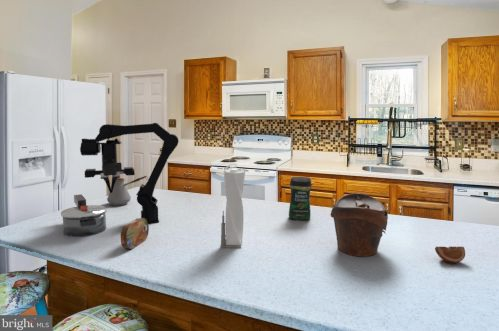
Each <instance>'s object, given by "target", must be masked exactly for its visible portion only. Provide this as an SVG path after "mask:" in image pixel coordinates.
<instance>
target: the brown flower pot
mask: <svg viewBox="0 0 499 331" xmlns="http://www.w3.org/2000/svg"><path fill="white" fill-rule="evenodd" d="M330 217H331V218H332V219H333V222H334V228H335V230H334V231H335V237H336V242H337V243H336V245H337V248H338V250H340V251H341V252H342V253H344V254H347V255H349V256H353V257H371V256H374V255H376V254H377V252H378V250H379V246H380V242H381V239H382V237H383V233H384V234H386V231H387V226H388V219H389V215H388V211H387V208H386V207H385V206H384V204H383V203H382V202H381V201H379V200H378V199H376V198H374V197H373V196H370V195H368V194H364V193H359V192H355V193H353V192H352V193H347V194H345V195H343V196H342V197H340V198H338V199H337V200H336V202H334V205H333V206H332V209H331V211H330Z"/></svg>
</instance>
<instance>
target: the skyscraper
mask: <svg viewBox="0 0 499 331" xmlns="http://www.w3.org/2000/svg"><path fill="white" fill-rule="evenodd" d="M231 166H234V168H230V169H229V170H228V171H226V170H227V169H228V168H229V167H231ZM237 166H238V164H237V163H230V164H228V165H227V166H226V167H225V169H224V170H223V177H224V178H223V180H224V190H225V198H226V201H225V202H226V203H225V211H224V210H222V216H221V219H222V220H221V223H220V226H221V227H220V228H221V230H220V234H221V235H220V249H221V248H223V249H241V248H242V244H243V236H244V206H243V200H242V198H243V193H244V185H245V176H246V170H244V169H239V168H237ZM224 213H225V214H224Z"/></svg>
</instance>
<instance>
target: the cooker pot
mask: <svg viewBox="0 0 499 331" xmlns="http://www.w3.org/2000/svg"><path fill="white" fill-rule="evenodd" d="M106 217H107V215H106V212H105V213H104V214H101V215H98V216H94V217H89V218H78V219H71V218H64V217H62V225H63V226H62V228H63V235H64V236H67V237H73V238H74V237H75V238H77V237H78V238H79V237H87V236H93V235H97V234H100V233H103V232H104V231H106V230H107V218H106Z"/></svg>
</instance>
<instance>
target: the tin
mask: <svg viewBox="0 0 499 331" xmlns="http://www.w3.org/2000/svg"><path fill="white" fill-rule="evenodd" d="M149 227H150V225H149V223H148V222H147V220H146V219H145V218H141V217H140V218H139V217H138V218H136V219H133V220H132V221H130V222H128V223H126V224H125V225H124V226H122V228H121V231H120V244H121V246H122V248H124V249H127V250H128V249H130V250H133V249H135V248H137V247H138V246H139V245H140V244H142V243H144V242H145V241H146V240H147V238H148V235H149V229H150V228H149Z"/></svg>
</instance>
